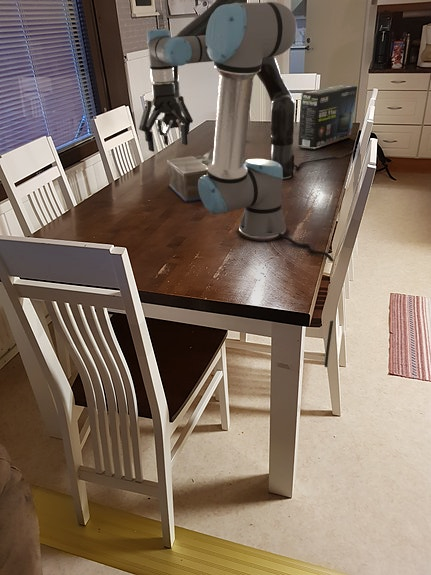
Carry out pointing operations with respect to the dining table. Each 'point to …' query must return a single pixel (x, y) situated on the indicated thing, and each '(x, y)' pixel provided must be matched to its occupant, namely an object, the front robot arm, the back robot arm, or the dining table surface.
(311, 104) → the router box
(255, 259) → the dining table surface
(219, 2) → the back robot arm
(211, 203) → the front robot arm
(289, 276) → the dining table surface
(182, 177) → the small box
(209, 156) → the fossil
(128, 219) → the dining table surface
